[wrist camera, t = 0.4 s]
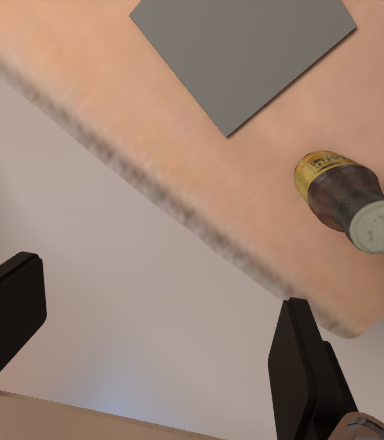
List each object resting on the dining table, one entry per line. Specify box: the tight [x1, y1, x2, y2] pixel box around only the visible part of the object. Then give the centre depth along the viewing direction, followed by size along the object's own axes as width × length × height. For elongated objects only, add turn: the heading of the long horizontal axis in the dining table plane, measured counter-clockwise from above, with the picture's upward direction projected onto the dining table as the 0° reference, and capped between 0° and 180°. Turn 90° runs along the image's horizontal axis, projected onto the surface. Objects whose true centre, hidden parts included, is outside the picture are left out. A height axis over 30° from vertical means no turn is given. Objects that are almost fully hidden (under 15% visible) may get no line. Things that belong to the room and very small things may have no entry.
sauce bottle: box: [294, 151, 384, 254], centre depth 29 cm, size 7×6×20 cm
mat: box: [129, 0, 357, 137], centre depth 34 cm, size 18×18×1 cm
